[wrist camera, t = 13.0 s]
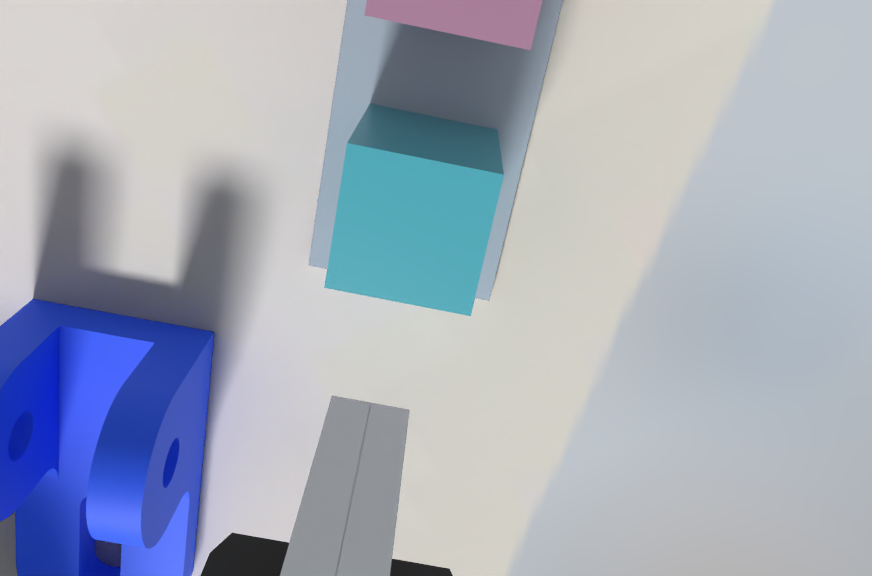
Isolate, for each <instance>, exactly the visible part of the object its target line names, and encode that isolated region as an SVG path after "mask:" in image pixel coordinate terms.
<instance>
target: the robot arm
mask: <svg viewBox="0 0 872 576" xmlns="http://www.w3.org/2000/svg"><path fill="white" fill-rule="evenodd" d="M408 418H409V410H408V409H402V408H397V407H391V406H386V405H380V404H375V403H370V402H364V401H359V400H353V399H348V398H342V397H337V396H332V398H331V401H330V404H329V408H328V411H327V415H326V418H325V422H324V425H323V429H322V432H321V436H320V439H319V442H318V446H317V449H316V453H315V456H314V460H313V463H312V467H311V470H310V474H309V477H308V480H307V484H306V487H305V491H304V494H303V498H302V501H301V505H300V508H299V511H298V515H297V518H296V522H295V525H294V529H293V532H292V536H291V539H290V543H287V542H281V541H276V540H270V539H264V538H259V537H253V536H247V535H242V534H236V533H231V534H230V535H229V536H228V537H227V538H226V539H225V540H224V541H223V542H222V543H220V544H219V545H218V546H217V547H216V548H215V549H214V550H213V551H212V552H210V554H209V557H208V559H207V561H206V564H205V566H204V569H203V571H202V574H201V576H453V575H452V573H451V571H450V569H447V568H442V567H436V566H430V565H424V564H419V563H413V562H407V561H402V560H396V559H392V554H393V545H394V537H395V528H396V520H397V511H398V503H399V494H400V486H401V477H402V469H403V460H404V452H405V443H406V435H407V426H408Z"/></svg>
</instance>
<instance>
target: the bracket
mask: <svg viewBox="0 0 872 576" xmlns="http://www.w3.org/2000/svg"><path fill="white" fill-rule="evenodd" d="M213 343H214V332H212V331H206V330H201V329H195V328H190V327H184V326H179V325H173V324H168V323H162V322H157V321H151V320H146V319H140V318H135V317H129V316H124V315H118V314H113V313H107V312H102V311H96V310H91V309H85V308H80V307H74V306H69V305H63V304H58V303H52V302H47V301H41V300H36V299H32V300H31V301H30V302H29V303H28V304H27V305H25V306H24V307H23V308H22V309H21V310H19V311H18V312H17V313H16V314H15V315H13V316H12V317H11V318H10V319H9V320H7V321H6V322H5V323H4V324H3V325H1V326H0V521H2V520H4V519H6V518H7V517H9V516H10V515H11V514H13V513H14V512H15V525H16V567H17V574H18V576H191V575H192V571H193V565H194V554H195V543H196V532H197V521H198V510H199V499H200V487H201V476H202V465H203V454H204V443H205V432H206V421H207V409H208V398H209V387H210V376H211V365H212V354H213ZM95 539H96V540H101V541H107V542H113V543H118V544H122V549H121V567H112V566H109V565H106V564H105V563H103V562H102V561H101V560H99V558H98V557H97V556H96V553H95Z"/></svg>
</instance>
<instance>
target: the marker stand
mask: <svg viewBox="0 0 872 576" xmlns="http://www.w3.org/2000/svg"><path fill="white" fill-rule="evenodd" d="M562 1H563V0H347V7H346V14H345V20H344V27H343V34H342V41H341V48H340V54H339V61H338V68H337V75H336V82H335V88H334V95H333V102H332V109H331V116H330V122H329V129H328V136H327V143H326V150H325V156H324V163H323V170H322V177H321V184H320V190H319V197H318V204H317V211H316V218H315V224H314V231H313V238H312V245H311V252H310V258H309V265H310V266H315V267H320V268H325V269H327V268H328V261H329V255H330V249H331V242H332V236H333V229H334V223H335V217H336V210H337V204H338V197H339V191H340V185H341V178H342V172H343V165H344V159H345V152H346V146H347V142H348V140H349V139H350V137H351V135H352V133H353V132H354V130H355V128H356V127H357V125H358V123H359V121H360V120H361V118H362V116H363V115H364V113H365V111H366V109H367V108H368V106H369V104H375V105H380V106H385V107H390V108H395V109H399V110H404V111H409V112H414V113H419V114H424V115H429V116H434V117H439V118H444V119H448V120H453V121H458V122H463V123H468V124H473V125H478V126H483V127H488V128H493V129H497V130H498V137H499V144H500V151H501V158H502V164H503V171H504V177H503V181H502V185H501V189H500V194H499V198H498V202H497V206H496V211H495V215H494V219H493V223H492V228H491V232H490V236H489V240H488V245H487V249H486V253H485V257H484V262H483V266H482V270H481V274H480V278H479V283H478V287H477V291H476V295H475V298H478V299H483V300H488V301H489V300H490V296H491V292H492V287H493V283H494V279H495V275H496V271H497V267H498V263H499V259H500V255H501V251H502V247H503V243H504V238H505V234H506V230H507V226H508V222H509V218H510V214H511V210H512V206H513V202H514V198H515V193H516V189H517V185H518V181H519V177H520V173H521V169H522V165H523V161H524V157H525V153H526V149H527V144H528V140H529V136H530V132H531V128H532V124H533V120H534V116H535V112H536V108H537V104H538V100H539V95H540V91H541V87H542V83H543V79H544V75H545V71H546V67H547V63H548V59H549V55H550V50H551V46H552V42H553V38H554V34H555V30H556V26H557V22H558V18H559V14H560V10H561V6H562Z"/></svg>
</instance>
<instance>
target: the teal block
mask: <svg viewBox="0 0 872 576" xmlns="http://www.w3.org/2000/svg"><path fill="white" fill-rule="evenodd" d="M503 177H504V171H503V164H502V158H501V151H500V144H499V137H498V130H497V129H493V128H488V127H483V126H478V125H473V124H468V123H463V122H458V121H453V120H448V119H444V118H439V117H434V116H429V115H424V114H419V113H414V112H409V111H404V110H399V109H395V108H390V107H385V106H380V105H375V104H369V106H368V108H367V109H366V111H365V113H364V115H363V116H362V118H361V120H360V121H359V123H358V125H357V127H356V128H355V130H354V132H353V133H352V135H351V137H350V139H349V140H348V142H347V146H346V152H345V159H344V165H343V172H342V178H341V185H340V191H339V197H338V204H337V210H336V217H335V223H334V229H333V236H332V242H331V249H330V255H329V261H328V268H327V274H326V281H325V287H324V288H329V289H334V290H339V291H345V292H350V293H355V294H360V295H365V296H370V297H376V298H381V299H386V300H391V301H396V302H401V303H406V304H412V305H417V306H422V307H427V308H432V309H437V310H442V311H448V312H453V313H458V314H463V315H468V316H471V312H472V308H473V304H474V300H475V295H476V291H477V287H478V283H479V278H480V274H481V270H482V266H483V262H484V257H485V253H486V249H487V245H488V240H489V236H490V232H491V228H492V223H493V219H494V215H495V211H496V206H497V202H498V198H499V194H500V189H501V185H502V181H503Z"/></svg>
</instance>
